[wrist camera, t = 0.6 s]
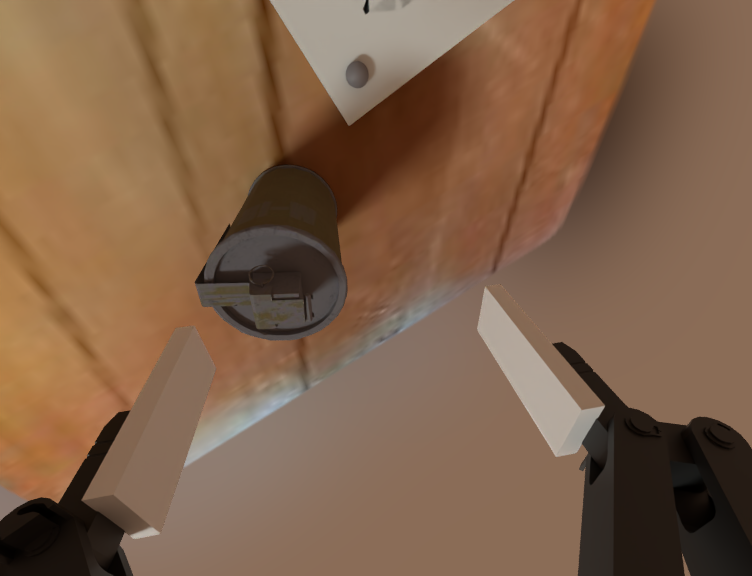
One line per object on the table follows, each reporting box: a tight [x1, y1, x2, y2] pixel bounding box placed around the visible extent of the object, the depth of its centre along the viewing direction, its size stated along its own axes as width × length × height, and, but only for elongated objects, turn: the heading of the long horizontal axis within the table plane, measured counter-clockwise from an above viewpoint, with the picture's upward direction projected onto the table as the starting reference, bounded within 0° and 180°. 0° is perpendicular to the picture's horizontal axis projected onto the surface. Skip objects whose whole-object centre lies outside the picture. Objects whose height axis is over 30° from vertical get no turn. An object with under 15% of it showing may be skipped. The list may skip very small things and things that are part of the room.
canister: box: [195, 165, 347, 340], centre depth 30 cm, size 11×10×20 cm
